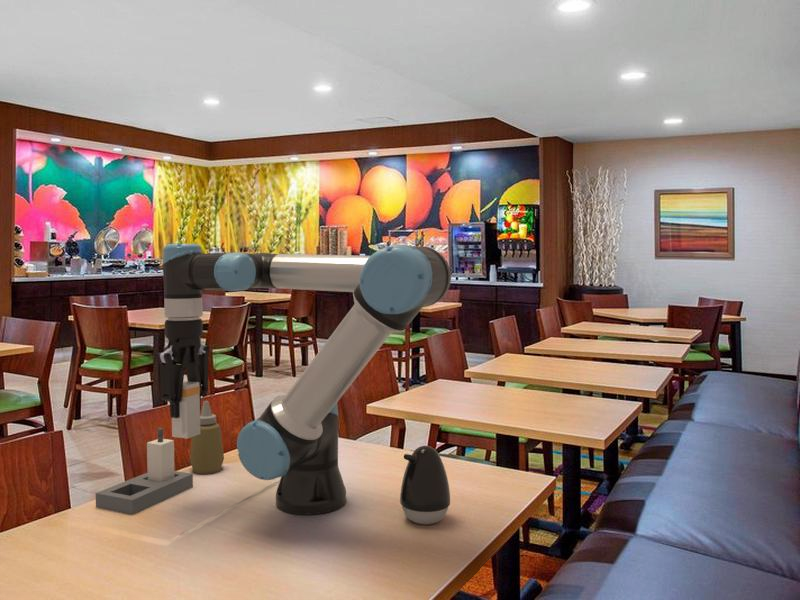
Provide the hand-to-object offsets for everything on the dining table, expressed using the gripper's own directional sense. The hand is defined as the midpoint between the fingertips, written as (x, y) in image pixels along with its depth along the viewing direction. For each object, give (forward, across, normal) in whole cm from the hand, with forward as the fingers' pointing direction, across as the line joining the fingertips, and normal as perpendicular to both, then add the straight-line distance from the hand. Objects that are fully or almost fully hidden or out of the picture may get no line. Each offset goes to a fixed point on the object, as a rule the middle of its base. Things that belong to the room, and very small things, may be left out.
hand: (186, 429), depth 141 cm
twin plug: (+16, -4, -11) cm, 20 cm away
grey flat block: (+17, 0, -12) cm, 20 cm away
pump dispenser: (+18, -15, +48) cm, 53 cm away
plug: (+1, 0, 0) cm, 1 cm away
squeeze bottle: (+17, -20, -12) cm, 29 cm away
